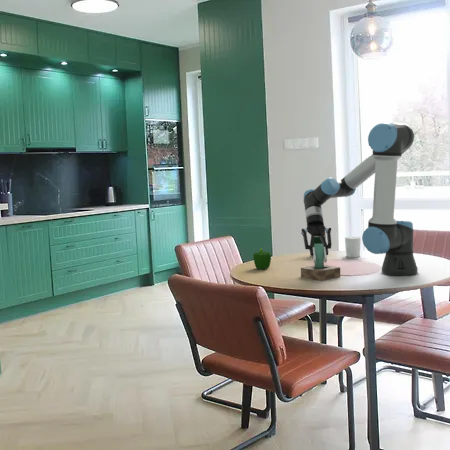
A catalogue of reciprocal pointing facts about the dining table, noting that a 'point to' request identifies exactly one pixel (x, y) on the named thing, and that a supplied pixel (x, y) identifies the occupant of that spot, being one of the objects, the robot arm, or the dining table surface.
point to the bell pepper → (262, 259)
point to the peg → (319, 256)
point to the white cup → (352, 246)
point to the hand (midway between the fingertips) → (320, 260)
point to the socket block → (320, 272)
